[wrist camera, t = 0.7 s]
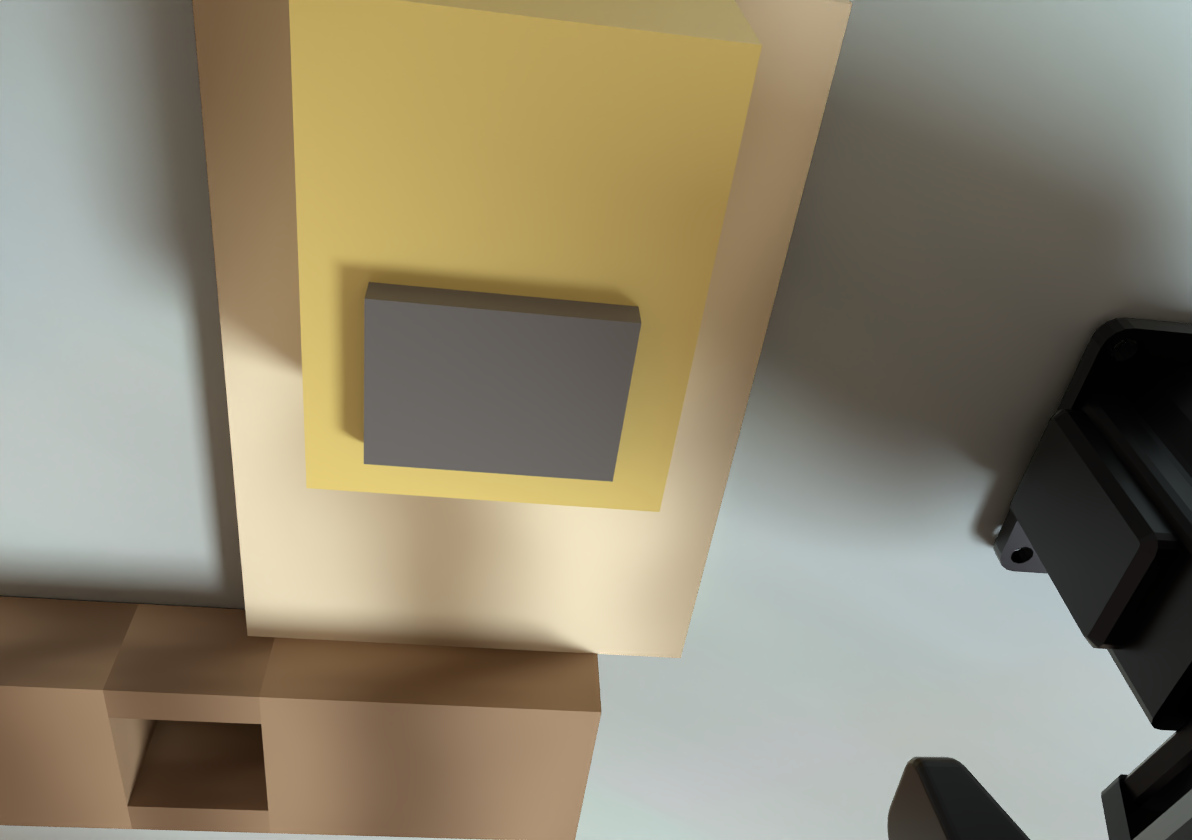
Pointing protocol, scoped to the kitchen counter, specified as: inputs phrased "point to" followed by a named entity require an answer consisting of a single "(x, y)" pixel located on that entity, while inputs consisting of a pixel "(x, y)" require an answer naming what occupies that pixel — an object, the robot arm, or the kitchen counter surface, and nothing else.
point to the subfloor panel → (466, 526)
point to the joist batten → (283, 728)
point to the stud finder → (508, 238)
